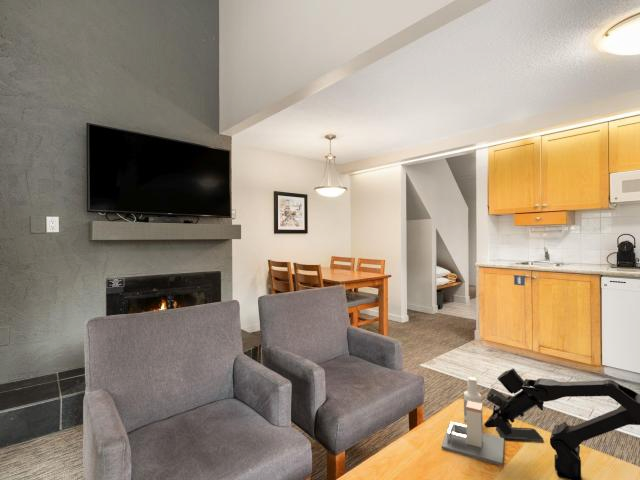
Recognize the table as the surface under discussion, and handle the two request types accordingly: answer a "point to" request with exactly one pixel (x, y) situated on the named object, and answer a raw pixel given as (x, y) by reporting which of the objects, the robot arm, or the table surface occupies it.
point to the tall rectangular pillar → (474, 423)
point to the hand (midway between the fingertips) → (485, 425)
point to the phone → (521, 434)
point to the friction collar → (457, 434)
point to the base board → (479, 449)
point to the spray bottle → (471, 393)
